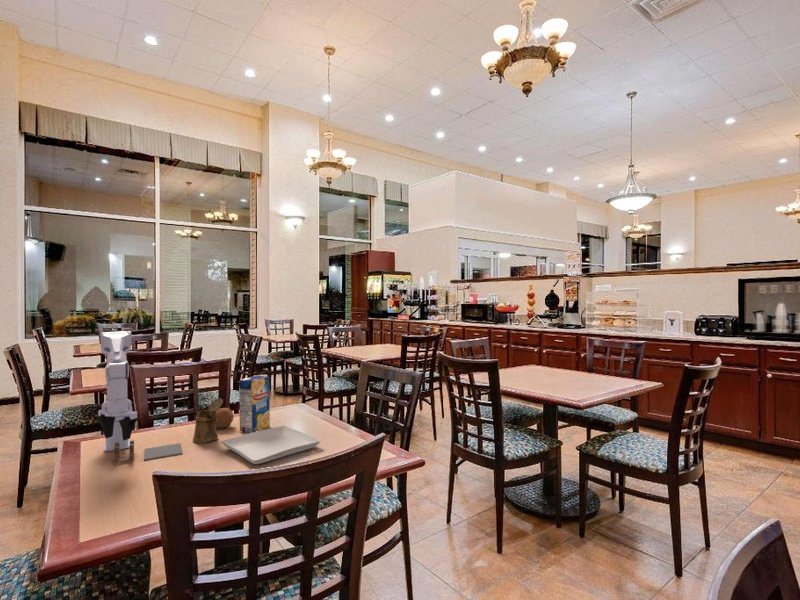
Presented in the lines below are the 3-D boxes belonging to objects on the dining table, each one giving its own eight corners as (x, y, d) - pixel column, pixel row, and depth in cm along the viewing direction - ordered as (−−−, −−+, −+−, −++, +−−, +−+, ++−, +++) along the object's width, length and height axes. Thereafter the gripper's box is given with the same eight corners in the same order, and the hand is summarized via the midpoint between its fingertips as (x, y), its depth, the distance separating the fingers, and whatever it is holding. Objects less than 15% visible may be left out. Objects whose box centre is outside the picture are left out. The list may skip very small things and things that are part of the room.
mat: (144, 450, 160) (144, 448, 160) (180, 444, 166) (180, 443, 166) (144, 460, 150) (144, 459, 150) (182, 454, 156) (182, 452, 156)
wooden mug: (209, 447, 163) (209, 399, 163) (188, 441, 170) (187, 395, 170) (229, 440, 171) (229, 395, 171) (208, 434, 178) (207, 391, 178)
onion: (212, 436, 185) (201, 416, 184) (228, 424, 194) (217, 405, 193) (226, 431, 181) (214, 410, 180) (242, 419, 189) (231, 399, 188)
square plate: (219, 450, 161) (219, 439, 161) (284, 433, 180) (284, 424, 180) (253, 470, 142) (253, 459, 142) (322, 449, 161) (322, 439, 161)
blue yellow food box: (239, 431, 182) (239, 380, 181) (257, 424, 192) (257, 375, 191) (252, 433, 179) (251, 381, 179) (269, 426, 189) (269, 376, 189)
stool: (114, 459, 151) (114, 442, 151) (134, 456, 154) (134, 439, 154) (113, 465, 146) (113, 447, 146) (134, 461, 149) (134, 444, 149)
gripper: (89, 399, 142) (89, 440, 143) (123, 402, 139) (124, 444, 139) (108, 394, 149) (109, 433, 149) (142, 397, 145) (142, 437, 146)
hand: (117, 438), depth 145 cm, fingers open, 7 cm apart
